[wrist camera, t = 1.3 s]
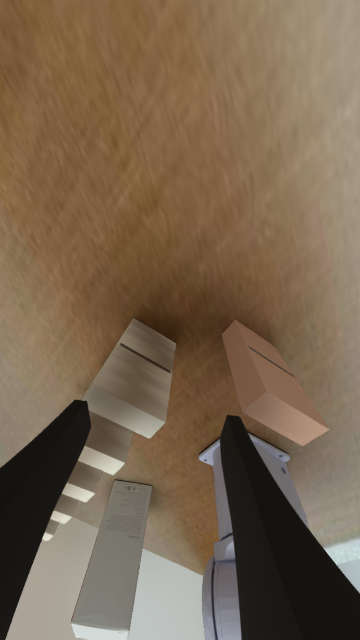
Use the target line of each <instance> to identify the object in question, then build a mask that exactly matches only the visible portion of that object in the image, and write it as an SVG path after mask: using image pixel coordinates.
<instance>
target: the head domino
mask: <svg viewBox="0 0 360 640" xmlns="http://www.w3.org/2000/svg"><path fill="white" fill-rule="evenodd" d="M222 338H223V342H224V346H225V350H226V354H227V358H228V361H229V365H230V369H231V373H232V377H233V381H234V385H235V388H236V392H237V396H238V400H239V404H240V408H241V411H242V412H243V413H244V414H246V415H248V416H250V417H251V418H253V419H255V420H257V421H259V422H260V423H262V424H264V425H266V426H267V427H269V428H271V429H273V430H274V431H276V432H278V433H280V434H282V435H283V436H285V437H287V438H289V439H290V440H292V441H294V442H296V443H297V444H299V445H301V446H304V445H306V444H307V443H309V442H311V441H312V440H314V439H315V438H317V437H319V436H320V435H322V434H324V433H325V432H327V431H328V430H329V428H328V427H327V425H326V424H325V422H324V421H323V419H322V418H321V416H320V415H319V413H318V412H317V410H316V409H315V407H314V406H313V404H312V402H311V401H310V399H309V398H308V396H307V395H306V393H305V392H304V390H303V389H302V387H301V386H300V384H299V383H298V381H297V380H296V378H295V377H294V375H293V374H292V372H291V371H290V369H289V368H288V366H287V365H286V363H285V362H284V360H283V359H282V357H281V356H280V354H279V353H278V351H277V350H276V348H275V347H274V346H273V345H272V344H270V343H269V342H267V341H266V340H265V339H263V338H262V337H260V336H259V335H257V334H256V333H254V332H253V331H251V330H250V329H248V328H247V327H245V326H244V325H242V324H241V323H240V322H238V321H237V320H234V321H233V322H232V323H231V325H230V326H229V327H228V328H227V329H226V330H225V331H224V332H223V333H222Z"/></svg>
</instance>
